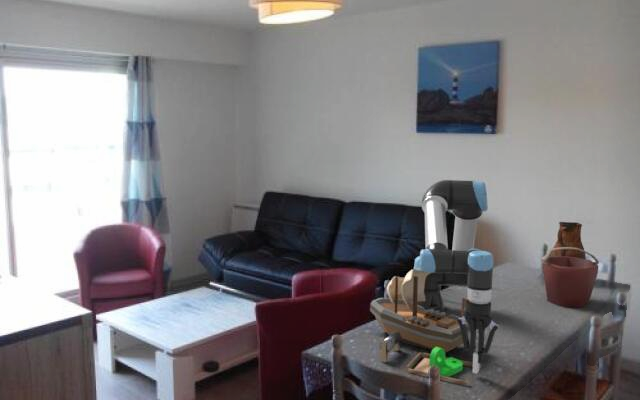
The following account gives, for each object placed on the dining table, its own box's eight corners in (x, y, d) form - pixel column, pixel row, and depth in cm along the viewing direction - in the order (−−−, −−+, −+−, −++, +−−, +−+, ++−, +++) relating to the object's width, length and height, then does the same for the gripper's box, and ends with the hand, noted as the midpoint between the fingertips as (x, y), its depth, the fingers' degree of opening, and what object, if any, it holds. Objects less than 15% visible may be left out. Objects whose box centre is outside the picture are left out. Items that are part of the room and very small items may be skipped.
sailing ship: (386, 322, 233) (388, 257, 229) (489, 354, 202) (493, 279, 199) (361, 333, 221) (362, 265, 218) (466, 368, 191) (469, 289, 187)
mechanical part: (444, 379, 183) (445, 355, 181) (429, 372, 187) (430, 349, 186) (466, 368, 190) (467, 345, 189) (451, 362, 195) (452, 340, 194)
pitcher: (589, 280, 295) (593, 223, 291) (573, 288, 280) (577, 228, 276) (557, 274, 307) (561, 218, 303) (539, 282, 292) (543, 224, 288)
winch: (378, 361, 196) (378, 341, 195) (392, 348, 207) (392, 329, 206) (388, 363, 194) (389, 343, 193) (402, 350, 205) (402, 331, 204)
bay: (404, 371, 188) (404, 367, 188) (420, 355, 201) (420, 351, 201) (468, 386, 178) (469, 381, 178) (481, 367, 191) (481, 363, 191)
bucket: (538, 306, 255) (541, 251, 251) (536, 292, 275) (539, 240, 272) (599, 312, 247) (603, 255, 243) (593, 297, 267) (596, 244, 264)
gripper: (455, 300, 181) (452, 371, 184) (497, 307, 174) (493, 380, 178) (461, 294, 187) (458, 363, 191) (502, 300, 181) (499, 371, 184)
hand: (475, 371), depth 184 cm, fingers closed
